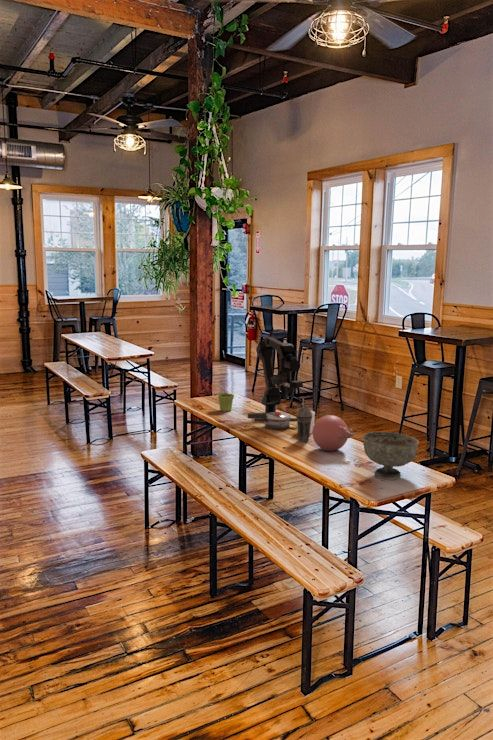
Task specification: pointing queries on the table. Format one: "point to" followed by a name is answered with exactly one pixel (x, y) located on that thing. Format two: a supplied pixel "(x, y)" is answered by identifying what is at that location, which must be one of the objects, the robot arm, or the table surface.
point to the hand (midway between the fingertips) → (284, 399)
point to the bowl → (390, 452)
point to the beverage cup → (304, 423)
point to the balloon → (331, 433)
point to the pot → (276, 423)
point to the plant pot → (225, 402)
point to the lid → (270, 416)
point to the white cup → (312, 422)
